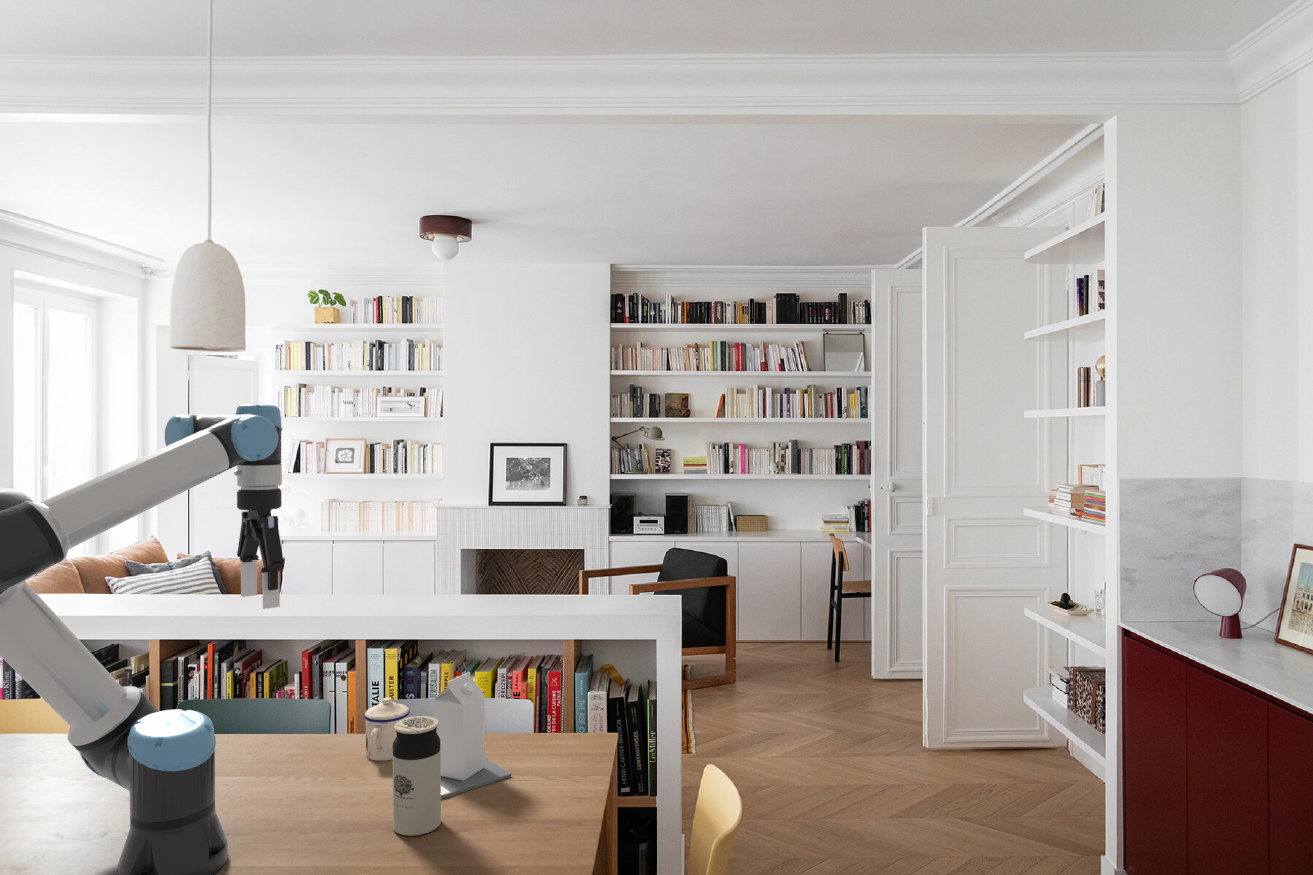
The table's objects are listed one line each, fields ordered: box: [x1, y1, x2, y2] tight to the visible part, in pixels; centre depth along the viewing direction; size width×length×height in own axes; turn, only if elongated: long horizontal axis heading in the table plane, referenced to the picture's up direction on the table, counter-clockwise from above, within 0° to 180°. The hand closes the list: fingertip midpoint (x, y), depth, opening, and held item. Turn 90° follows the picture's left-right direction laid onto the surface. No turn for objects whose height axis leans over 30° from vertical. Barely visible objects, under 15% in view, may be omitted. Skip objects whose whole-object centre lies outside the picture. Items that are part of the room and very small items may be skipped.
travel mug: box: [392, 715, 442, 837], centre depth 147 cm, size 8×8×18 cm
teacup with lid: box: [364, 697, 411, 762], centre depth 178 cm, size 12×9×12 cm
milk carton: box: [433, 671, 486, 781], centre depth 168 cm, size 7×7×19 cm
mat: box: [441, 757, 512, 800], centre depth 169 cm, size 18×16×1 cm
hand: (259, 601), depth 158 cm, fingers open, 13 cm apart
